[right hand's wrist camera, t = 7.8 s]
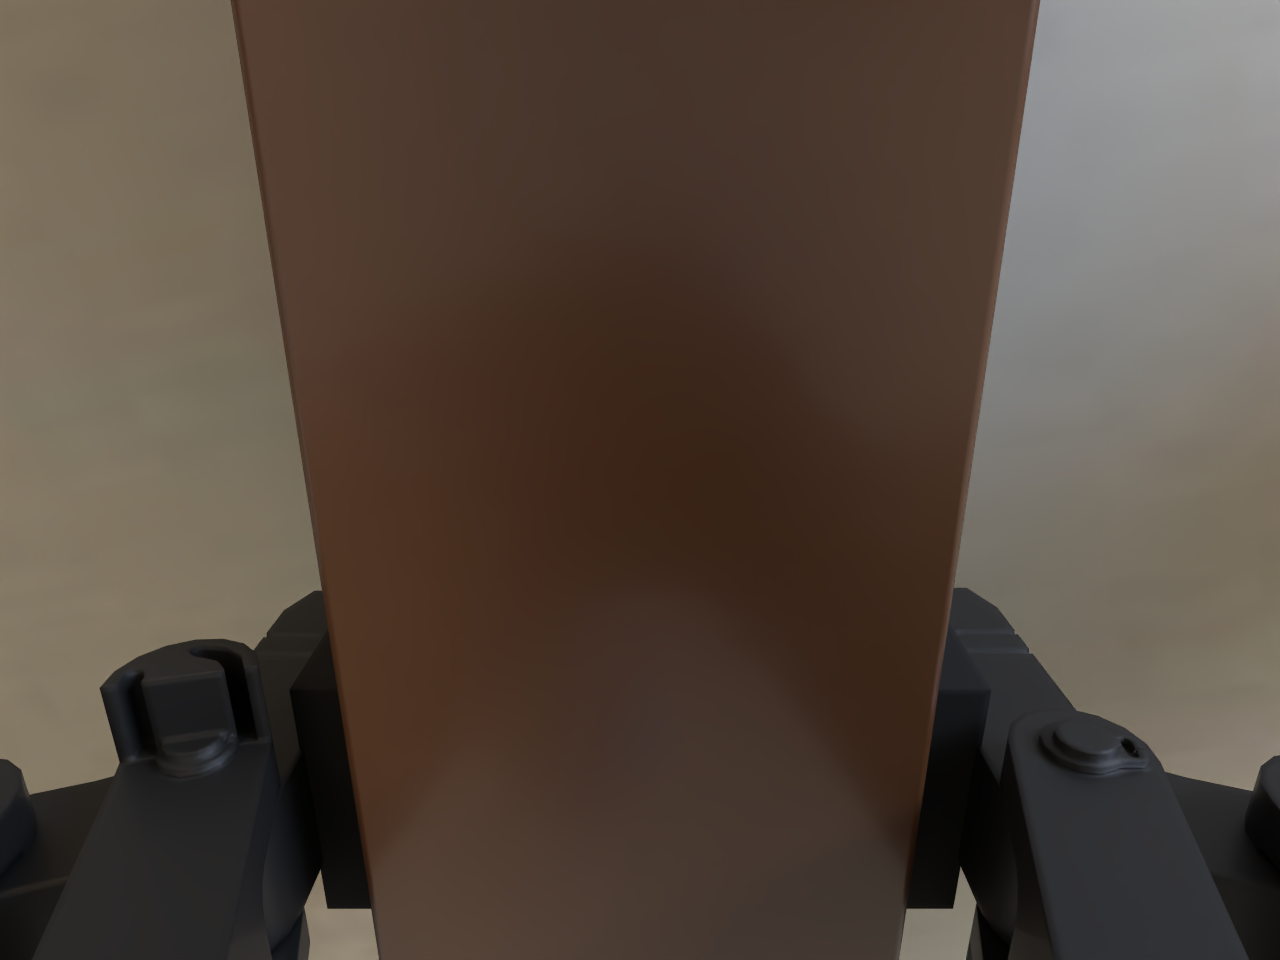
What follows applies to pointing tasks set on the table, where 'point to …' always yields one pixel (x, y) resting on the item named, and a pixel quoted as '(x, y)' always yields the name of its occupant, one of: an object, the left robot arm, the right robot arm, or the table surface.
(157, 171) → the table surface
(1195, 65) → the table surface
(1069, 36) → the table surface
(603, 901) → the walnut beam
